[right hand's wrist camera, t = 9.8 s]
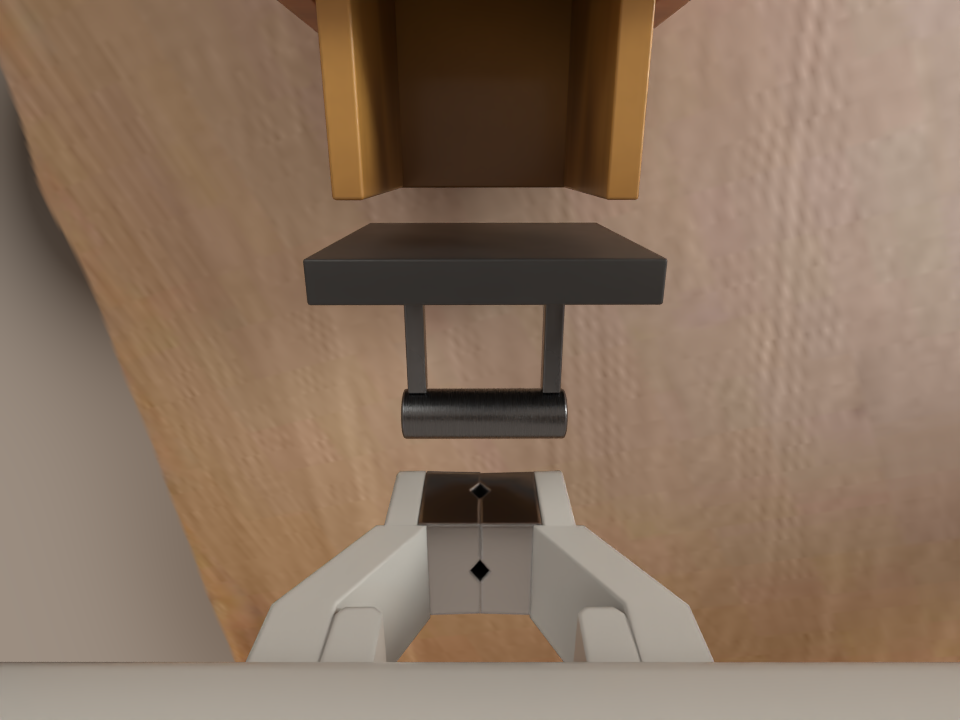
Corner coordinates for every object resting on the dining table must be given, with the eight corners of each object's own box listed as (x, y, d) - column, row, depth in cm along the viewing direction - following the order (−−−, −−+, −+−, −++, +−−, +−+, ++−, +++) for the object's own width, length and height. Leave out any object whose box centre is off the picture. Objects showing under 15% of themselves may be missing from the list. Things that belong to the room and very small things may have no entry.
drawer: (587, 373, 25) (643, 484, 16) (379, 374, 25) (326, 484, 16) (635, -350, 17) (793, -869, 8) (331, -349, 17) (180, -867, 8)
